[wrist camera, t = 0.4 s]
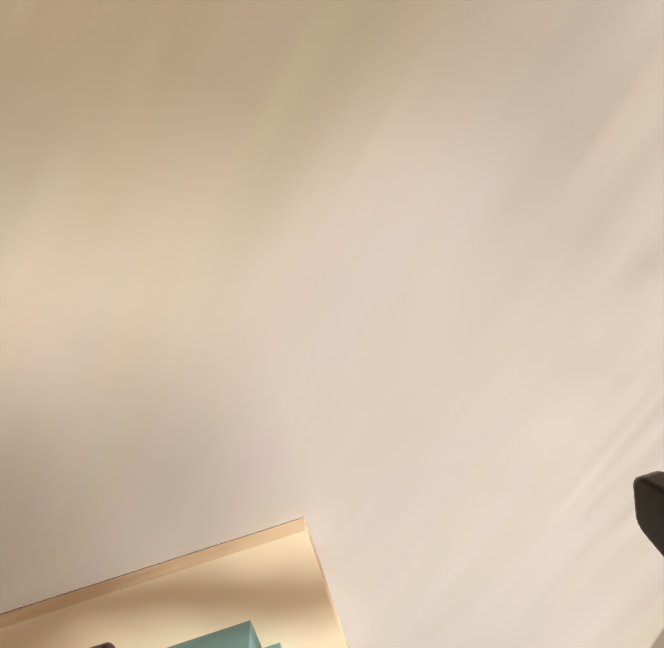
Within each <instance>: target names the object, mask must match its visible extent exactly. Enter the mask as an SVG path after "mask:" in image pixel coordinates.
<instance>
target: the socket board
mask: <svg viewBox="0 0 664 648" xmlns="http://www.w3.org/2000/svg"><path fill="white" fill-rule="evenodd" d="M105 642H110V643H112V644H113V645H114V646H115V647H116V648H349V647H348V644H347V641H346V638H345V635H344V632H343V629H342V626H341V624H340V621H339V618H338V615H337V612H336V609H335V606H334V603H333V600H332V597H331V594H330V592H329V589H328V586H327V583H326V580H325V577H324V574H323V571H322V568H321V565H320V563H319V560H318V557H317V554H316V551H315V548H314V545H313V542H312V539H311V536H310V534H309V531H308V528H307V525H306V522H305V519H304V518H301V519H298V520H295V521H292V522H288V523H285V524H282V525H279V526H276V527H273V528H270V529H267V530H263V531H260V532H257V533H254V534H251V535H248V536H245V537H242V538H238V539H235V540H232V541H229V542H226V543H223V544H220V545H217V546H213V547H210V548H207V549H204V550H201V551H198V552H195V553H191V554H188V555H185V556H182V557H179V558H176V559H173V560H170V561H166V562H163V563H160V564H157V565H154V566H151V567H148V568H145V569H141V570H138V571H135V572H132V573H129V574H126V575H123V576H119V577H116V578H113V579H110V580H107V581H104V582H101V583H98V584H94V585H91V586H88V587H85V588H82V589H79V590H76V591H73V592H69V593H66V594H63V595H60V596H57V597H54V598H51V599H47V600H44V601H41V602H38V603H35V604H32V605H29V606H26V607H22V608H19V609H16V610H13V611H10V612H7V613H4V614H1V615H0V648H89V647H92V646H96V645H99V644H102V643H105Z"/></svg>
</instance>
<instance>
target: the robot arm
mask: <svg viewBox="0 0 664 648" xmlns="http://www.w3.org/2000/svg"><path fill="white" fill-rule="evenodd" d="M633 488H634V499H635V511H636V518H637V521H638V524H639V526H640V528H641V529H642V531H643V532H644V534H645V535H646V536H647V537H648V538H649V540H650V541H651V542H652V543H653V544H654V546H655V547H656V548H657V549H658V550H659V552H660V553H661V554H662V555H663V556H664V472H661V471H655V472H651V473H648V474H645V475H642V476H639V477H637V478H635V480H634V483H633ZM89 648H116V647H115V646H114V645H113V644H112V643H110V642H105V643H102V644H99V645H96V646H92V647H89Z"/></svg>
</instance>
